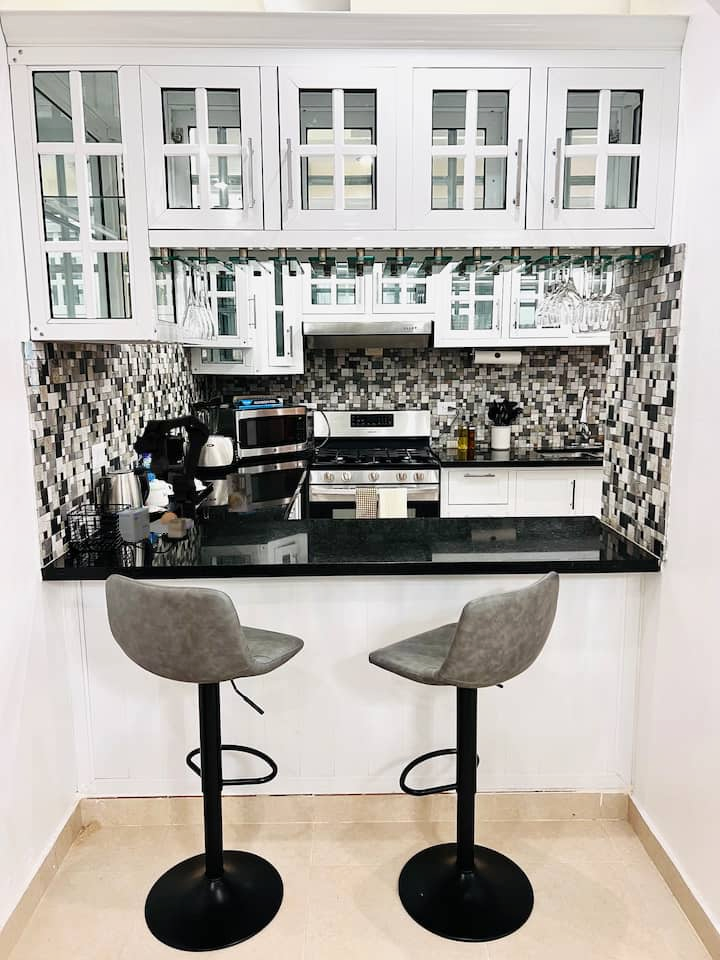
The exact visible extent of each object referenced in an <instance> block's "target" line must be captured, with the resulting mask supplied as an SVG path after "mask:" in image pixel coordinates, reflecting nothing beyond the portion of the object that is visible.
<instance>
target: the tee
mask: <svg viewBox="0 0 720 960" xmlns="http://www.w3.org/2000/svg"><path fill="white" fill-rule="evenodd" d="M167 525H168V534H167V538H183V537H185V536H187V530H186V518H180V517H177V518H172V519H170V520H168V521H167Z"/></svg>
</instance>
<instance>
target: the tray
mask: <svg viewBox="0 0 720 960" xmlns="http://www.w3.org/2000/svg"><path fill="white" fill-rule="evenodd" d="M161 519H162V518H160V519H157V520H155V521H152V522H151V523H150V532H154V533H168V525H162V522H161ZM192 521H193V520H192V519H186V529H187V530H189V529H190V528H192V527H193V526H192V524H193V522H192ZM191 526H192V527H191Z"/></svg>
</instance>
